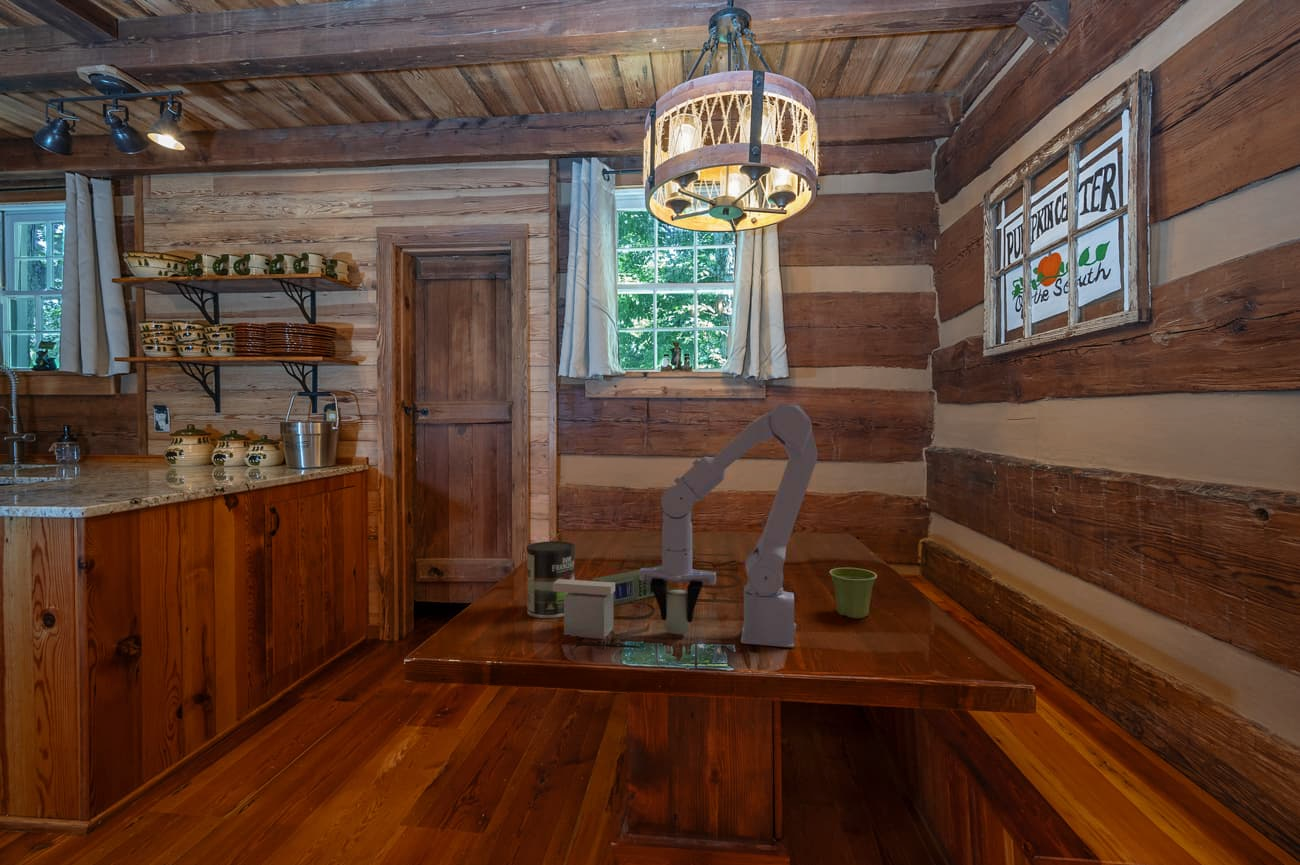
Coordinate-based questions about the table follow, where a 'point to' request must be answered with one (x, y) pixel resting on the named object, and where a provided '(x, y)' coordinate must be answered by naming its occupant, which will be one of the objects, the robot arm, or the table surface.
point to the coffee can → (548, 577)
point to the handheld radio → (628, 586)
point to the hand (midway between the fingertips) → (677, 619)
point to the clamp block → (588, 615)
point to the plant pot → (853, 591)
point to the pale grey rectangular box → (584, 587)
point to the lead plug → (677, 612)
